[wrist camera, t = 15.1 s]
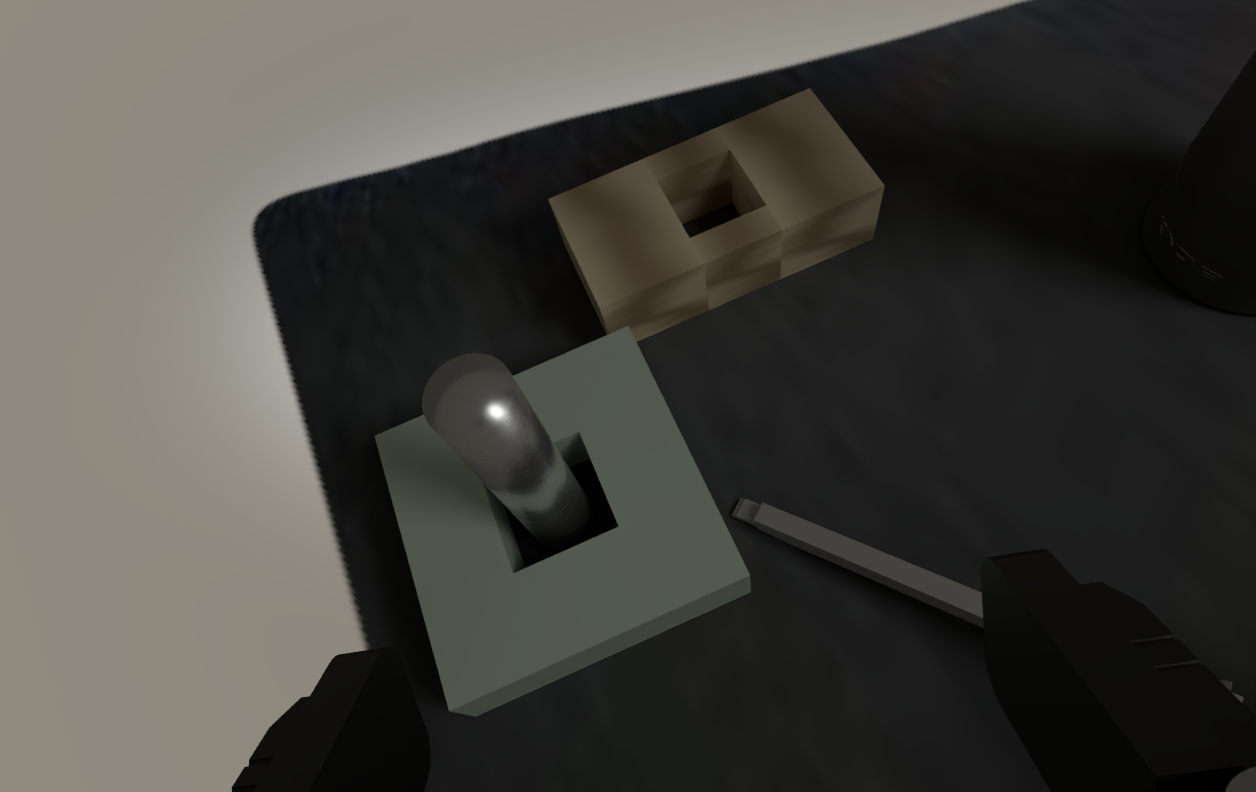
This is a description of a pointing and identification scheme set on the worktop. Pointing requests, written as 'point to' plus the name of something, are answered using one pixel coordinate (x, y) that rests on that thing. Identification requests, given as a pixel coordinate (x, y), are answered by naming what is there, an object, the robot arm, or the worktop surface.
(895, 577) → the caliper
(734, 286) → the wooden block with hole
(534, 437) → the axle
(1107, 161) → the worktop surface
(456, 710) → the socket block
